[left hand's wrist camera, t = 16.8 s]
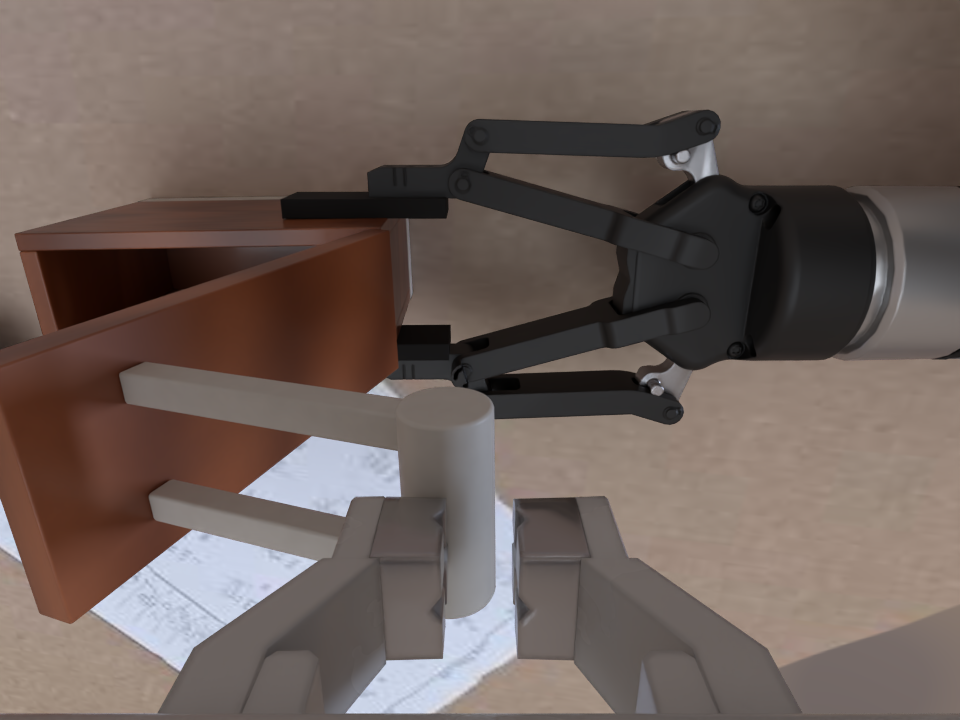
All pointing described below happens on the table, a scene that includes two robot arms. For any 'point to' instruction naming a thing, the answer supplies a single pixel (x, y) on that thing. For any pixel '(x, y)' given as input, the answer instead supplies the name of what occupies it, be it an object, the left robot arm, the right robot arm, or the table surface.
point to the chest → (176, 252)
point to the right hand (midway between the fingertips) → (299, 276)
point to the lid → (228, 425)
